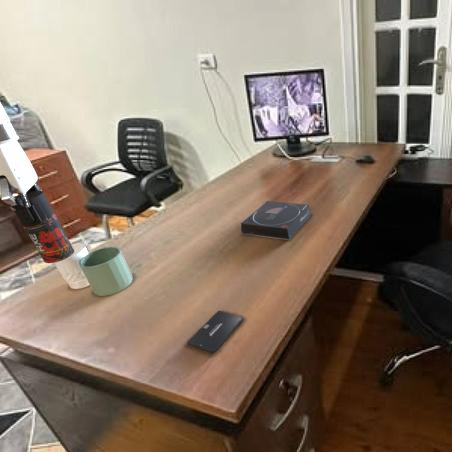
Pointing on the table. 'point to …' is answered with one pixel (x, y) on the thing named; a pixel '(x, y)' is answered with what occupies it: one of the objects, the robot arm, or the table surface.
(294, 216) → the portable cd player
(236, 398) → the table surface
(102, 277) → the pen holder
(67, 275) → the white cup
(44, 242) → the deodorant
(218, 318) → the solid state drive
